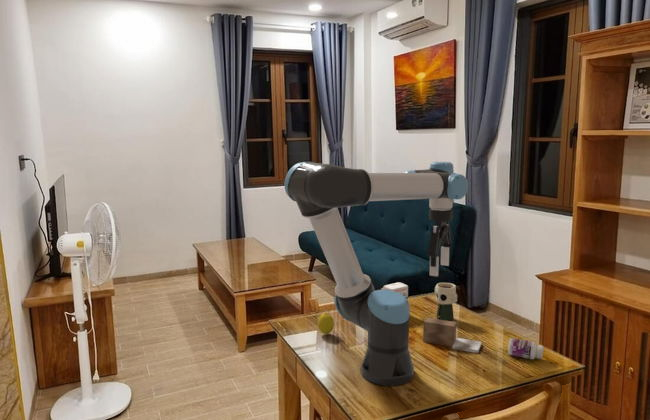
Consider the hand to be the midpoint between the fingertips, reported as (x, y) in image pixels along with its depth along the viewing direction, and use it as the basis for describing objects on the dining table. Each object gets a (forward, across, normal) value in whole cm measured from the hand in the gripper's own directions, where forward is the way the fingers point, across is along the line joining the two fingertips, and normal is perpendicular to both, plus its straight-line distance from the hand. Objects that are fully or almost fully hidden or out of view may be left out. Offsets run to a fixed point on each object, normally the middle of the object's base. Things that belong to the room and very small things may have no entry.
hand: (439, 270), depth 169 cm
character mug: (+23, +14, +1) cm, 27 cm away
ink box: (+23, +10, +19) cm, 31 cm away
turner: (+23, -6, -7) cm, 25 cm away
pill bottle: (+20, -6, -24) cm, 32 cm away
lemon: (+22, -19, +34) cm, 45 cm away
